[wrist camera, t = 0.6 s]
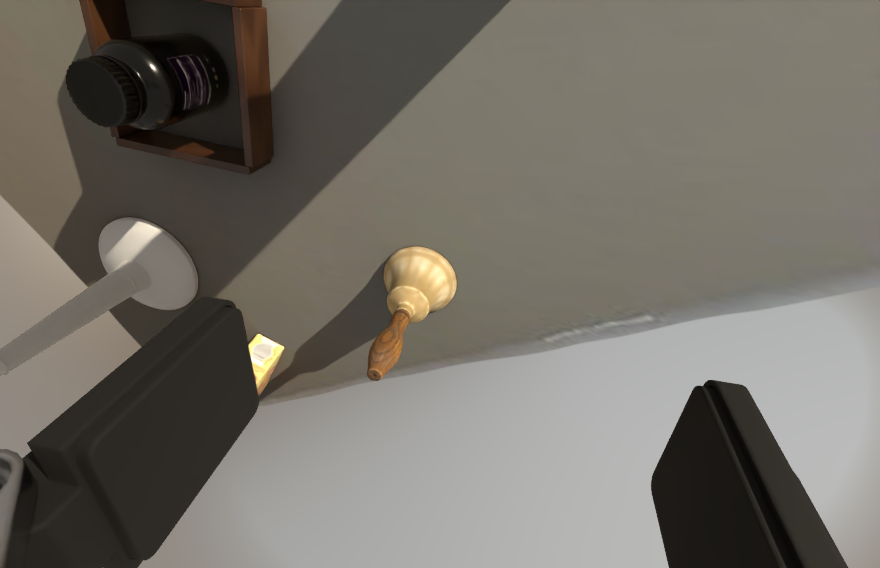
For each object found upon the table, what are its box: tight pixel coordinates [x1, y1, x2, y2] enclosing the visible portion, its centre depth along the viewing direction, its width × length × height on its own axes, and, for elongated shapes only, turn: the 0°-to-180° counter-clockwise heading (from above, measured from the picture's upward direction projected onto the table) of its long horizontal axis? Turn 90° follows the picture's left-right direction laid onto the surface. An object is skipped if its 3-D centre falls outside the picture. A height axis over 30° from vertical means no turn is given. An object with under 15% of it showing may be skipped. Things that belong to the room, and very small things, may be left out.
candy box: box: [248, 334, 284, 395], centre depth 56 cm, size 9×4×15 cm, turn 151°
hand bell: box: [367, 247, 457, 381], centre depth 44 cm, size 8×8×16 cm
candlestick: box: [0, 217, 198, 375], centre depth 45 cm, size 13×13×30 cm
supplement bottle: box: [66, 33, 228, 130], centre depth 38 cm, size 7×7×12 cm
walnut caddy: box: [79, 0, 273, 175], centre depth 42 cm, size 15×15×4 cm
